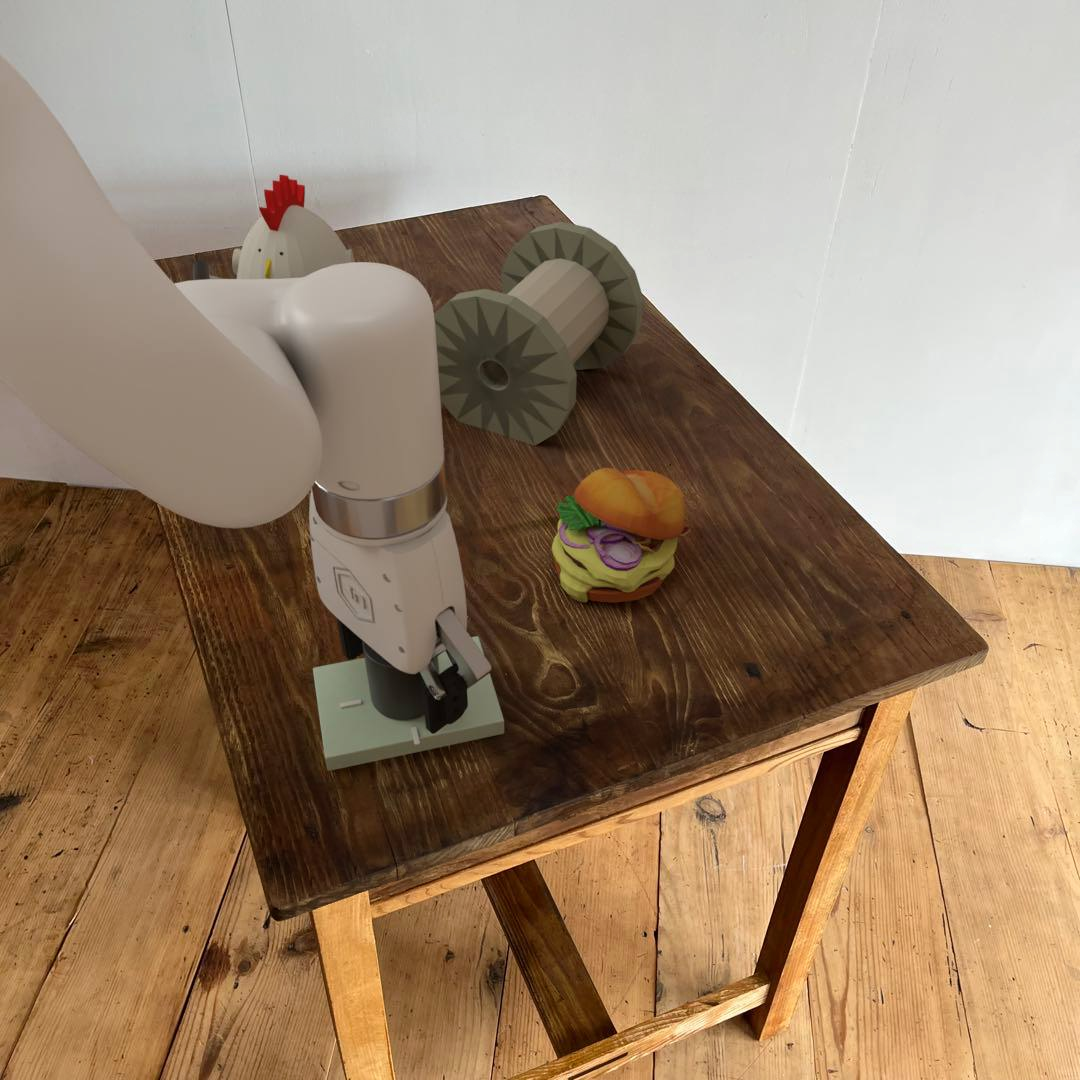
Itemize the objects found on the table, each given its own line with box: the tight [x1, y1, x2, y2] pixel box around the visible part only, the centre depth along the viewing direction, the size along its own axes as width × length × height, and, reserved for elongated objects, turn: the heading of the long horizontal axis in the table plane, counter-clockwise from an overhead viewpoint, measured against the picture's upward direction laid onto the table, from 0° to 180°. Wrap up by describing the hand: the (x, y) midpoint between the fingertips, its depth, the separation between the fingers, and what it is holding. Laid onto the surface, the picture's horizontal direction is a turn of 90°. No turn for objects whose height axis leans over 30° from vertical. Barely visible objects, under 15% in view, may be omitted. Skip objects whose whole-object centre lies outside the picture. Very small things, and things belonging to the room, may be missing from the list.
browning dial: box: [362, 641, 440, 720], centre depth 68 cm, size 5×5×6 cm
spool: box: [434, 221, 645, 446], centre depth 97 cm, size 16×15×15 cm
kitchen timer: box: [231, 174, 355, 279], centre depth 110 cm, size 14×14×15 cm
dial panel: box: [312, 635, 505, 772], centre depth 71 cm, size 12×9×3 cm
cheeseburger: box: [551, 467, 691, 603], centre depth 81 cm, size 10×11×10 cm
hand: (404, 681), depth 69 cm, fingers open, 8 cm apart
